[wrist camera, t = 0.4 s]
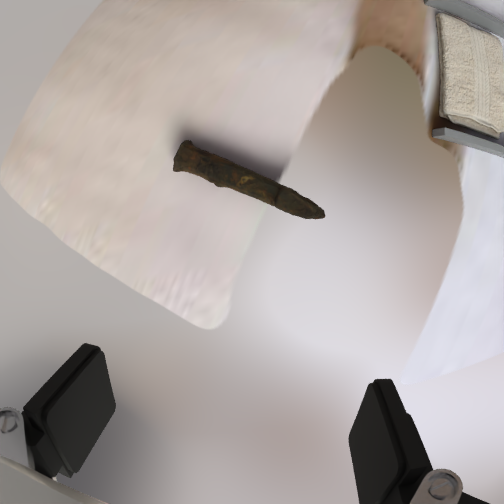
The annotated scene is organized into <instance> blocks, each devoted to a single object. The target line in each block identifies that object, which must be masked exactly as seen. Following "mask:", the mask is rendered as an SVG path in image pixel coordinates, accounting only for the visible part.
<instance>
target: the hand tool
mask: <svg viewBox="0 0 504 504" xmlns="http://www.w3.org/2000/svg"><path fill="white" fill-rule="evenodd" d="M173 171H175V172H180V171H184V172H189V173H192V174H195V175H197V176H200V177H202V178H204V179H206V180H208V181H209V182H211V183H214V184H215V185H216V186H217V187H228V188H231V189H233V190H236V191H238V192H240V193H243V194H246V195H248V196H251V197H254V198H256V199H259V200H261V201H263V202H265V203H267V204H270V205H272V206H275V207H276V208H278V209H280V210H282V211H284V212H287V213H290V214H292V215H295V216H299V217H302V218H305V219H321V218H324V217H325V214H324V210H322V209H321V208H320V207H318V205H317V204H315V203H314V202H313V201H311V200H310V199H308V198H305V197H303V196H301V195H300V194H298V193H297V192H296V191H294V190H293V189H291V188H288V187H286V186H283V185H281V184H279V183H277V182H275V181H273V180H271V179H269V178H267V177H264V176H262V175H260V174H258V173H256V172H254V171H251V170H249V169H247V168H244V167H242V166H240V165H237V164H235V163H233V162H231V161H229V160H227V159H225V158H222V157H219V156H217V155H215V154H211V153H209V152H207V151H204V150H201V149H199V148H196V147H195V146H194V145H193V144H192V142H191V141H189V140H185V141H184V142H183V143H182V144H181V145H180V147H179V149H178V151H177V153H176V155H175V157H174V165H173Z"/></svg>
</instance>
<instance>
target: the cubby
mask: <svg viewBox="0 0 504 504" xmlns="http://www.w3.org/2000/svg"><path fill="white" fill-rule="evenodd" d="M424 3H425V4H426V5H428V6H431V7H434V8H437V9H440V10H442V11H445V12H447V13H450V14H453V15H455V16H457V17H460V18H462V19H464V20H467V21H469V22H471V23H473V24H476V25H478V26H480V27H482V28H484V29H486V30H488V31H490V32H492V33H494V34H496V35H498V36H500V37H502V38H504V22H502V21H500V20H499V19H497V18H495V17H493V16H491V15H489V14H487V13H485V12H483V11H481V10H479V9H477V8H475V7H473V6H471V5H469V4H466V3H464V2H462V1H460V0H424ZM432 137H435V138H439V139H443V140H447V141H450V142H454V143H458V144H461V145H465V146H468V147H472V148H475V149H478V150H482V151H485V152H488V153H491V154H494V155H497V156H500V157H503V158H504V146H502V145H499V144H496V143H493V142H490V141H487V140H484V139H481V138H478V137H475V136H472V135H469V134H466V133H462V132H459V131H456V130H452V129H449V128H439V129H433V130H432Z"/></svg>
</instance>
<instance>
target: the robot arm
mask: <svg viewBox="0 0 504 504" xmlns="http://www.w3.org/2000/svg"><path fill="white" fill-rule="evenodd" d="M115 408H116V403H115V399H114V396H113V392H112V387H111V383H110V379H109V374H108V369H107V365H106V360H105V355H104V353H103V352H102V351H101V349H100V348H99V347H98V346H95V345H91V344H87V343H84V344H83V345H82V346H81V347H80V348H79V349H78V350H77V351H76V352H75V353H74V354H73V355H72V356H71V357H70V358H69V359H68V360H67V361H66V362H65V363H64V364H63V365H62V366H61V367H60V368H59V369H58V370H57V371H56V373H55V374H54V375H53V376H52V377H51V378H50V379H49V380H48V381H47V382H46V383H45V384H44V385H43V386H42V387H41V388H40V390H39V391H38V392H37V393H36V394H35V395H34V396H33V397H32V398H31V399H30V401H29V402H28V403H27V404H26V405H25V406H24V407H23V409H24V411H23V412H22V413H20V411H18V410H16V409H14V408H11V407H4V408H0V504H109V503H106V502H103V501H101V500H98V499H96V498H93V497H91V496H88V495H85V494H83V493H81V492H79V491H76V490H74V489H72V488H69V487H67V486H65V485H63V484H61V483H59V482H57V480H56V475H57V473H58V472H59V473H61V474H63V475H65V476H67V477H69V478H71V477H72V475H73V473H77V472H78V471H79V470H80V468H81V467H82V465H83V463H84V461H85V460H86V458H87V456H88V455H89V453H90V451H91V450H92V448H93V446H94V445H95V443H96V441H97V440H98V438H99V436H100V435H101V433H102V431H103V430H104V428H105V427H106V425H107V423H108V422H109V420H110V418H111V417H112V415H113V413H114V412H115ZM349 447H350V452H351V457H352V463H353V468H354V474H355V479H356V486H357V491H358V497H359V504H489V503H487V502H484V501H482V500H480V499H477V498H475V497H472V496H470V495H468V494H466V493H464V492H462V490H463V485H462V481H461V479H460V477H459V476H458V475H456V473H454V472H452V471H450V470H447V469H436V470H433V468H432V465H431V463H430V460H429V458H428V455H427V453H426V450H425V448H424V445H423V443H422V440H421V438H420V435H419V433H418V431H417V428H416V426H415V424H414V421H413V419H412V417H411V415H409V414H408V413H406V410H405V409H404V406H403V403H402V401H401V399H400V397H399V394H398V392H397V390H396V388H395V385H394V383H393V381H392V380H391V379H375V380H374V382H373V383H370V384H369V385H368V387H367V390H366V393H365V395H364V398H363V401H362V403H361V406H360V409H359V411H358V414H357V416H356V419H355V421H354V424H353V426H352V429H351V431H350V434H349Z"/></svg>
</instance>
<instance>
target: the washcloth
mask: <svg viewBox="0 0 504 504" xmlns="http://www.w3.org/2000/svg"><path fill="white" fill-rule="evenodd" d="M436 21H437V30H438V31H437V33H438V40H439V43H438V44H439V59H440V60H439V62H440V69H441V71H440V79H441V86H440V89H441V91H440V109H439V116H440V117H443V118H447V119H448V120H450V121H451V122H452V123H455V124H457V125H460V126H462V127H465V128H469V129H472V130H475V131H477V132H480V133H482V134H485V135H487V136H489V137H492V138H495V139H499V137H500V133H501V132H504V59H503V51H502V45H501V43H500V41H499V39H498V38H497V37H495V36H494V35H491V34H490V33H487V32H484V31H482V30H478V29H476V28H474V27H471V26H468V25H467V24H466V23H465V22H463V21H461V20H459V19H457V18H454V17H451V16H449V15H447V14H444V13H438V14H437V15H436Z"/></svg>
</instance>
